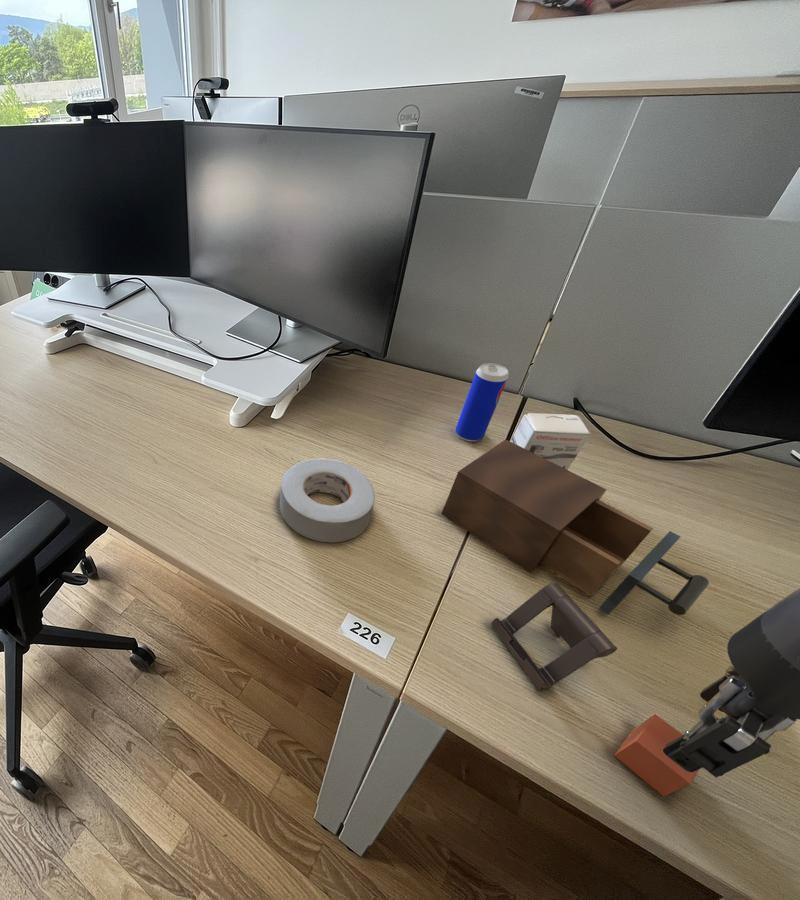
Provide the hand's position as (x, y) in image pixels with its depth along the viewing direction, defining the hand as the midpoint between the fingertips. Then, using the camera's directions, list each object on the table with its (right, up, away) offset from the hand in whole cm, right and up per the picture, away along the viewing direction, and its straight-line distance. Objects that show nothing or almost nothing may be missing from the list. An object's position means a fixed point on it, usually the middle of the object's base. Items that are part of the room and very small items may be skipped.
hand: (695, 730), depth 44 cm
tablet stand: (-4, +1, +15) cm, 16 cm away
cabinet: (+3, +15, +31) cm, 35 cm away
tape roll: (-26, +17, +36) cm, 48 cm away
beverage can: (+7, +30, +49) cm, 57 cm away
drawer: (+9, +9, +22) cm, 26 cm away
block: (+1, -7, +6) cm, 9 cm away
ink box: (+12, +22, +39) cm, 47 cm away
